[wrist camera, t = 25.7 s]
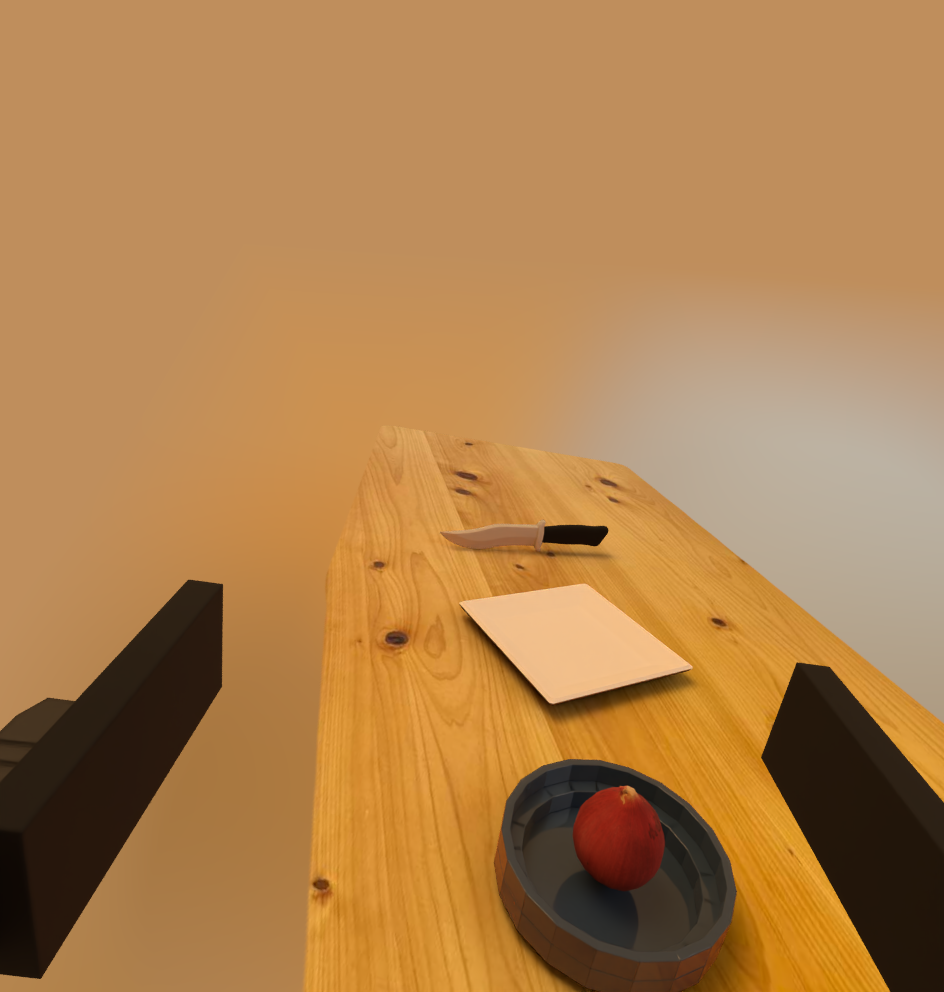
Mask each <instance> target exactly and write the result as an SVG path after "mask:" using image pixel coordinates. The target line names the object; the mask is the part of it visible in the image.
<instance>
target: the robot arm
mask: <svg viewBox="0 0 944 992" xmlns="http://www.w3.org/2000/svg"><path fill="white" fill-rule="evenodd" d="M222 616H223V584H217V583H209V582H202V581H195V580H188V581H187V582H186V583H185V584H184V585H183V586H182V587H181V588H180V589H179V590H178V591H177V593H176V594H175V595H174V596H173V597H172V598H171V599H170V600H169V601H168V602H167V603H166V604H165V605H164V607H163V608H162V609H161V610H160V611H159V612H158V613H157V614H156V615H155V616H154V617H153V618H152V619H151V620H150V621H149V623H148V624H147V625H146V626H145V627H144V628H143V629H142V630H141V631H140V632H139V633H138V634H137V636H135V638H134V639H133V640H132V641H131V642H130V643H129V644H128V645H127V646H126V647H125V648H124V649H123V651H122V652H121V653H120V654H119V655H118V656H117V657H116V658H115V659H114V660H113V661H112V662H111V663H110V664H109V666H108V667H107V668H106V669H105V670H104V671H103V672H102V673H101V674H100V675H99V676H98V677H97V679H95V681H94V682H93V683H92V684H91V685H90V686H89V687H88V688H87V689H86V690H85V691H84V692H83V693H82V695H81V696H80V697H79V698H78V699H77V700H76V701H69V700H60V699H54V698H47V699H45V700H43V701H41V702H40V703H38V704H36V705H34V706H33V707H31V708H29V709H27V710H25V711H24V712H22V713H20V714H18V715H17V716H15V717H14V718H13V719H12V721H10V722H9V723H8V724H7V725H6V726H5V727H4V728H3V729H2V730H1V731H0V974H3V975H12V976H20V977H29V978H37V979H41V978H42V976H43V974H44V973H45V971H46V970H47V968H48V966H49V965H50V963H51V961H52V960H53V958H54V957H55V955H56V953H57V952H58V950H59V949H60V947H61V945H62V944H63V942H64V941H65V939H66V937H67V936H68V934H69V932H70V931H71V929H72V928H73V926H74V924H75V923H76V921H77V920H78V918H79V916H80V915H81V913H82V911H83V910H84V908H85V906H86V905H87V903H88V902H89V900H90V899H91V897H92V895H93V894H94V892H95V891H96V889H97V887H98V886H99V884H100V882H101V881H102V879H103V878H104V876H105V874H106V872H107V871H108V870H109V868H110V866H111V865H112V863H113V861H114V860H115V858H116V856H117V855H118V853H119V852H120V850H121V849H122V847H123V845H124V844H125V842H126V840H127V839H128V837H129V836H130V834H131V832H132V831H133V829H134V827H135V826H136V824H137V823H138V821H139V819H140V818H141V816H142V815H143V813H144V811H145V810H146V808H147V807H148V805H149V803H150V802H151V800H152V798H153V797H154V795H155V794H156V792H157V790H158V789H159V787H160V786H161V784H162V782H163V781H164V779H165V777H166V776H167V774H168V773H169V771H170V769H171V768H172V766H173V765H174V763H175V761H176V759H177V758H178V756H179V755H180V753H181V752H182V750H183V748H184V747H185V745H186V744H187V742H188V740H189V739H190V737H191V736H192V734H193V732H194V731H195V729H196V727H197V726H198V724H199V723H200V721H201V719H202V718H203V716H204V715H205V713H206V711H207V710H208V708H209V706H210V704H211V703H212V701H213V700H214V698H215V697H216V695H217V693H218V692H219V690H220V689H221V687H222V622H223V617H222ZM761 758H762V760H763V762H764V763H765V765H766V767H767V769H768V771H769V773H770V774H771V776H772V778H773V780H774V782H775V783H776V785H777V787H778V789H779V791H780V792H781V794H782V796H783V798H784V800H785V802H786V803H787V805H788V807H789V809H790V811H791V812H792V814H793V816H794V818H795V820H796V821H797V823H798V825H799V827H800V829H801V831H802V832H803V834H804V836H805V838H806V840H807V841H808V843H809V845H810V847H811V849H812V850H813V852H814V854H815V856H816V858H817V860H818V861H819V863H820V865H821V867H822V869H823V870H824V872H825V874H826V876H827V878H828V879H829V881H830V883H831V885H832V887H833V888H834V890H835V892H836V894H837V896H838V898H839V899H840V901H841V903H842V905H843V907H844V908H845V910H846V912H847V914H848V916H849V917H850V919H851V921H852V923H853V925H854V927H855V928H856V930H857V932H858V934H859V936H860V937H861V939H862V941H863V943H864V945H865V946H866V948H867V950H868V952H869V954H870V956H871V957H872V959H873V961H874V963H875V965H876V966H877V968H878V970H879V972H880V974H881V975H882V977H883V979H884V981H885V983H886V985H887V986H888V988H889V990H890V992H944V802H943V801H942V800H941V799H940V798H939V796H938V795H937V794H936V793H935V792H934V791H933V789H932V788H931V787H930V786H929V785H928V783H927V782H926V781H925V780H924V779H923V777H922V776H921V775H920V774H919V773H918V772H917V770H916V769H915V768H914V767H913V766H912V764H911V763H910V762H909V761H908V760H907V758H906V757H905V756H904V755H903V754H902V753H901V751H900V750H899V749H898V748H897V747H896V745H895V744H894V743H893V742H892V741H891V739H890V738H889V737H888V736H887V735H886V734H885V732H884V731H883V730H882V729H881V728H880V726H879V725H878V724H877V723H876V722H875V720H874V719H873V718H872V717H871V716H870V715H869V713H868V712H867V711H866V710H865V709H864V707H863V706H862V705H861V704H860V703H859V701H858V700H857V699H856V698H855V697H854V696H853V694H852V693H851V692H850V691H849V690H848V688H847V687H846V686H845V685H844V684H843V682H842V681H841V680H840V679H839V678H838V677H837V675H836V674H835V673H834V672H833V671H832V669H831V668H830V667H827V666H819V665H812V664H805V663H796V666H795V669H794V671H793V674H792V677H791V679H790V682H789V685H788V687H787V690H786V693H785V695H784V698H783V701H782V703H781V706H780V709H779V711H778V714H777V717H776V719H775V722H774V725H773V727H772V730H771V733H770V735H769V738H768V741H767V743H766V746H765V749H764V751H763V754H762V757H761Z"/></svg>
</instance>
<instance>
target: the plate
mask: <svg viewBox="0 0 944 992" xmlns="http://www.w3.org/2000/svg"><path fill="white" fill-rule="evenodd" d="M459 604H460V606H461V607H462V609H463V610H464V611H465V612H466V613H467V614H468V615H469V616H470V617H471V618H472V620H473V621H474V622H475V623H476V624H477V625H478V626H479V627H480V628H481V630H482V631H483V632H484V633H485V634H486V635H487V636H488V637H489V638H490V640H491V641H492V642H493V643H494V644H495V645H496V646H497V647H498V648H499V649H500V651H501V652H502V653H503V654H504V655H505V656H506V657H507V658H508V659H509V661H510V662H511V663H512V664H513V665H514V666H515V667H516V668H517V669H518V670H519V672H520V673H521V674H522V675H523V676H524V677H525V678H526V679H527V680H528V682H529V683H530V684H531V685H532V686H533V687H534V688H535V689H536V690H537V692H538V693H539V694H540V695H541V696H542V697H543V698H544V699H545V700H546V701H547V703H548V704H550V705H557V704H561V703H564V702H568V701H572V700H576V699H580V698H584V697H588V696H592V695H596V694H600V693H603V692H607V691H611V690H615V689H619V688H623V687H627V686H631V685H635V684H639V683H643V682H646V681H650V680H654V679H658V678H662V677H666V676H670V675H674V674H678V673H682V672H685V671H689V670H691V669H692V666H691V665H690V664H689V663H687V662H686V661H685V660H684V659H682V658H681V657H680V656H678V655H677V654H676V653H675V652H673V651H672V650H671V649H669V648H668V647H667V646H666V645H664V644H663V643H662V642H660V641H659V640H658V639H657V638H655V637H654V636H653V635H651V634H650V633H649V632H648V631H646V630H645V629H644V628H642V627H641V626H640V625H639V624H637V623H636V622H635V621H633V620H632V619H631V618H630V617H628V616H627V615H626V614H625V613H623V612H622V611H621V610H619V609H618V608H617V607H616V606H614V605H613V604H612V603H610V602H609V601H608V600H607V599H605V598H604V597H603V596H601V595H600V594H599V593H598V592H596V591H595V590H594V589H592V588H591V587H590V586H589V585H587V584H578V585H571V586H564V587H558V588H551V589H544V590H537V591H530V592H523V593H516V594H510V595H503V596H496V597H489V598H482V599H475V600H469V601H462V602H460V603H459Z"/></svg>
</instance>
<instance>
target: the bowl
mask: <svg viewBox="0 0 944 992" xmlns="http://www.w3.org/2000/svg"><path fill="white" fill-rule="evenodd" d="M620 786H630V787H632V788H634V789H635V791H636V793H638V794H640V795H641V796H643V797H644V798H645V799H646V800H647V801H648V803H649V804H650V805H651V806H652V807H653V809H654V810H655V811H656V813H657V815H658V817H659V820H660V823H661V827H662V830H663V833H664V840H665V847H664V853H663V857H662V861H661V865H660V868H659V869H658V871H657V873H656V874H655V876H654V877H653V878H652V879H650V880H649V881H648V882H647V883H646V884H645V885H643V886H641V887H639V888H638V889H633V890H629V891H620V890H616V889H611V888H608V887H607V886H605V885H603V884H602V883H600V882H598V881H596V880H595V879H594V878H593V877H592V876H591V875H590V874H589V873H588V872H587V871H586V870H585V869H584V867H583V865H582V864H581V862H580V861H579V859H578V857H577V854H576V851H575V847H574V841H573V827H574V823H575V820H576V817H577V814H578V812H579V809H580V807H581V806H582V804H583V803H584V802H585V801H586V800H588V799H589V798H590V797H592V796H593V795H594V794H596V793H597V792H599V791H601V790H604V789H608V788H612V787H620ZM494 866H495V872H496V878H497V884H498V890H499V895H500V897H501V899H502V901H503V903H504V905H505V907H506V909H507V911H508V913H509V915H510V917H511V919H512V921H513V923H514V925H515V927H516V929H517V930H518V932H519V933H520V934H521V935H522V936H523V937H524V938H525V939H526V940H527V941H528V943H529V944H530V945H531V946H532V947H533V948H534V949H535V950H536V951H537V952H538V953H539V955H540V956H541V957H542V958H543V959H544V960H545V961H546V962H547V963H548V964H549V965H551V966H553V967H554V968H556V969H557V970H559V971H560V972H562V973H564V974H565V975H567V976H568V977H570V978H571V979H573V980H574V981H576V982H578V983H579V984H581V985H582V986H584V987H586V988H589V989H593V990H596V991H599V992H680V991H682V990H685V989H687V988H689V987H691V986H693V985H695V984H697V983H699V981H700V980H701V979H702V977H703V976H704V975H705V974H706V972H707V971H708V970H709V968H710V967H711V966H712V964H713V963H714V962H715V960H716V959H717V957H718V954H719V952H720V949H721V947H722V944H723V942H724V939H725V937H726V934H727V932H728V929H729V927H730V924H731V921H732V916H733V910H734V905H735V899H736V892H737V891H736V887H735V882H734V877H733V872H732V868H731V863H730V860H729V858H728V856H727V854H726V852H725V851H724V849H723V847H722V845H721V843H720V841H719V840H718V838H717V836H716V834H715V832H714V831H713V829H712V828H711V827H710V826H709V825H708V824H707V823H706V821H705V820H704V819H703V818H702V817H701V816H700V815H699V814H698V813H697V812H696V810H695V809H694V808H693V807H692V806H691V805H690V804H689V803H688V802H687V801H685V800H684V799H682V798H681V797H680V796H678V795H677V794H676V793H674V792H673V791H672V790H670V789H669V788H668V787H666V786H665V785H663V784H662V783H660V782H659V781H657V780H654V779H652V778H650V777H648V776H646V775H644V774H642V773H640V772H638V771H636V770H633V769H631V768H629V767H625V766H621V765H617V764H613V763H609V762H605V761H601V760H581V759H570V760H569V759H568V760H564V761H560V762H556V763H552V764H547V765H543V766H541V767H540V768H538V769H537V770H535V771H534V772H532V773H530V774H529V775H527V776H526V777H524V778H523V779H521V780H520V782H519V783H518V785H517V786H516V788H515V789H514V790H513V792H512V793H511V795H510V796H509V798H508V799H507V801H506V805H505V809H504V814H503V819H502V824H501V829H500V833H499V839H498V844H497V849H496V854H495V859H494Z"/></svg>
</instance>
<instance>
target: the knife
mask: <svg viewBox="0 0 944 992" xmlns="http://www.w3.org/2000/svg"><path fill="white" fill-rule="evenodd" d="M545 523H546V522H545V520H540V521H539V522H538V523H537V525H522V524H494V525H489V526H485V527H481V528H477V529H471V530H461V531H445V532H440V533H441V534H442V535H443V536H444V537H445V538H446V539H447V540H449V541H451V542H453V543H455V544H457V545H460V546H463V547H467V548H473V549H484V548H491V547H497V546H507V545H528V546H534V547H535V549H536V550H537V551H540V547H541V544H542V542H544V543H558V544H583V545H590V546H598V545H599V544H600V543H601V541H602V540H603V539H604V537H605V536H606V535H607V533H608V528H607V527H606V526H585V525H557V526H546V527H544V526H545Z"/></svg>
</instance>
